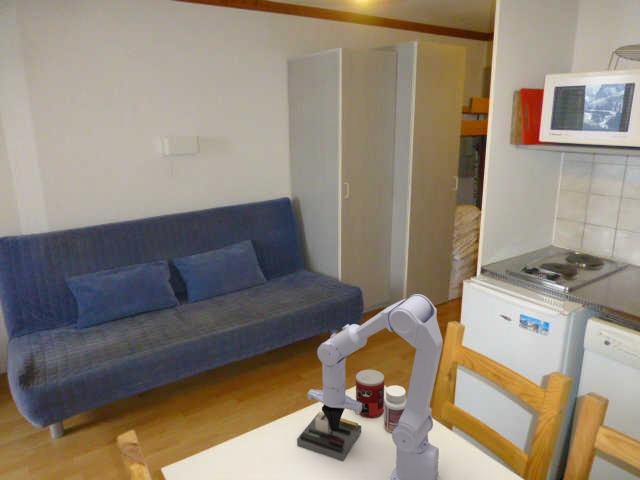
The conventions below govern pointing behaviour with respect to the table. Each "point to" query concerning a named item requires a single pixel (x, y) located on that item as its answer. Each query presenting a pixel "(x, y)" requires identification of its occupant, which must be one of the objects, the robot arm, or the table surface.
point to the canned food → (370, 392)
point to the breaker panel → (330, 439)
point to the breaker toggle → (322, 423)
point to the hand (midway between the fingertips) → (334, 428)
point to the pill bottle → (394, 406)
